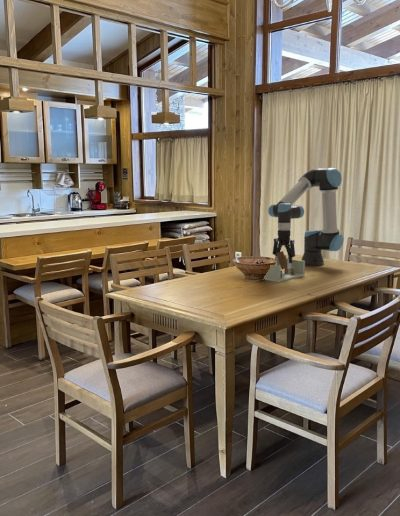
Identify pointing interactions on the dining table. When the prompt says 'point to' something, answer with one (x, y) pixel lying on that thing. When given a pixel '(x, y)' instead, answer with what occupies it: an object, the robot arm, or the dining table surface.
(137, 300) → the dining table surface
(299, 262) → the peg stand
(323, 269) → the dining table surface
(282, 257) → the wooden block set
